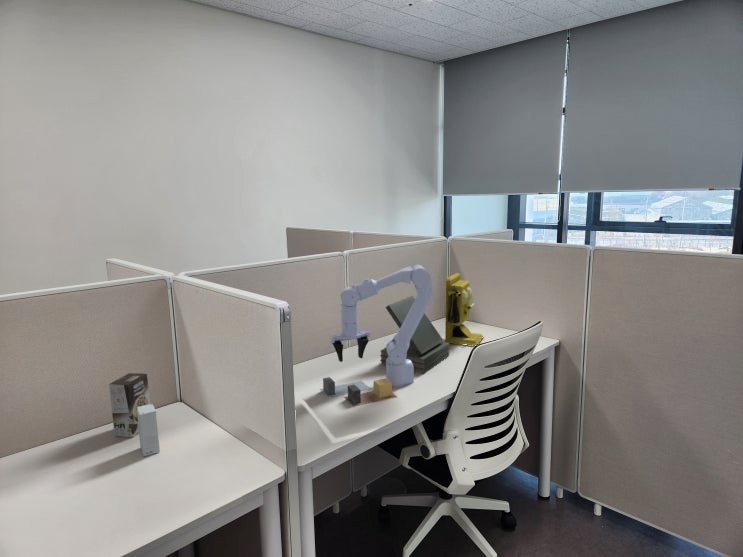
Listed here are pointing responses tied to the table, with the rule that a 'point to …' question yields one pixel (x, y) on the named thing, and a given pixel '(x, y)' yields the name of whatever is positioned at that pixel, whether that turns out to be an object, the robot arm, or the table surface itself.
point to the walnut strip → (363, 396)
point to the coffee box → (128, 402)
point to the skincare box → (148, 429)
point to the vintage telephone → (458, 312)
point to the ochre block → (382, 388)
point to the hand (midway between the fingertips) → (350, 359)
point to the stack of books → (418, 339)
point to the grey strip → (339, 387)
